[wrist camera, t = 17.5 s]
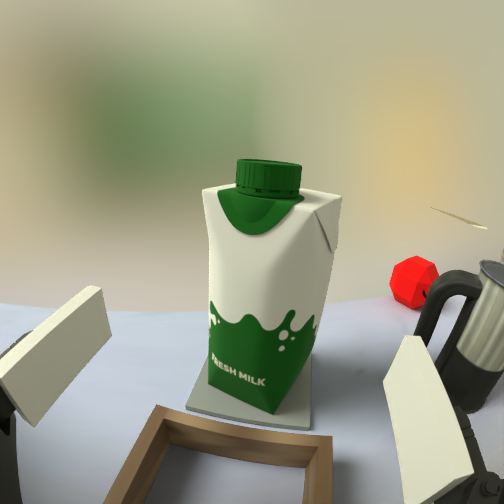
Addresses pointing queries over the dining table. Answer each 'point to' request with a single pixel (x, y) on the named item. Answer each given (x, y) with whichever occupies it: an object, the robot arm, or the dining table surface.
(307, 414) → the mat
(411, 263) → the ball
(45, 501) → the dining table surface
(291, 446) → the holder
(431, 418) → the robot arm
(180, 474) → the dining table surface
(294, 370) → the soya milk
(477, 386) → the milk frother
